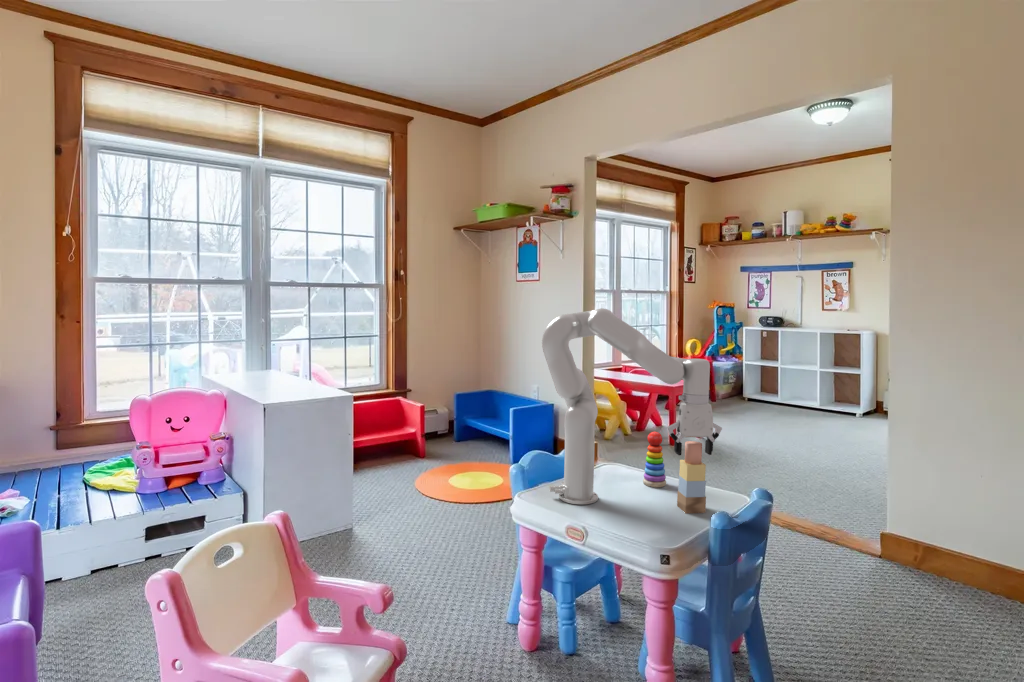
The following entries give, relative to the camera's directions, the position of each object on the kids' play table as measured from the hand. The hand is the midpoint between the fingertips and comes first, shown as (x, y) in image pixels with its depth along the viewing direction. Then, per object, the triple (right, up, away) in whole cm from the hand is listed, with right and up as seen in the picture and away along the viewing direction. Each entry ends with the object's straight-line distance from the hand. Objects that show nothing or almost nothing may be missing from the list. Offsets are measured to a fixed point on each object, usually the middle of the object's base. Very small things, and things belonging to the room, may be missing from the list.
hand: (693, 454), depth 181 cm
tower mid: (0, -13, +1) cm, 13 cm away
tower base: (0, -18, +1) cm, 18 cm away
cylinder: (0, -3, 0) cm, 3 cm away
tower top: (0, -8, +1) cm, 8 cm away
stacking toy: (-6, -16, +25) cm, 30 cm away
